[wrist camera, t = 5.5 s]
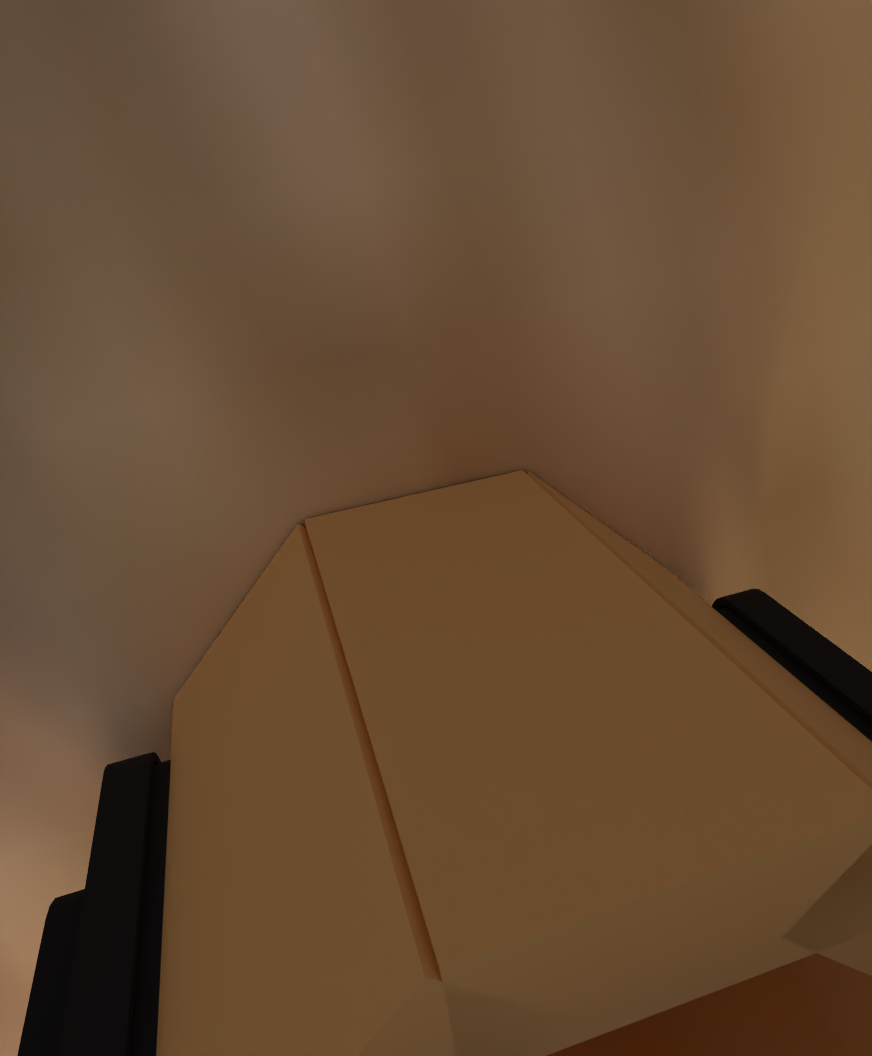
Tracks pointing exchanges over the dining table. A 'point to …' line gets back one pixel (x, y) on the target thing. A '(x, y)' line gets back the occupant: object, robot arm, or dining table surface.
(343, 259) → the dining table surface
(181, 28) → the dining table surface
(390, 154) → the dining table surface
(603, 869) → the tan hollow octagonal block
